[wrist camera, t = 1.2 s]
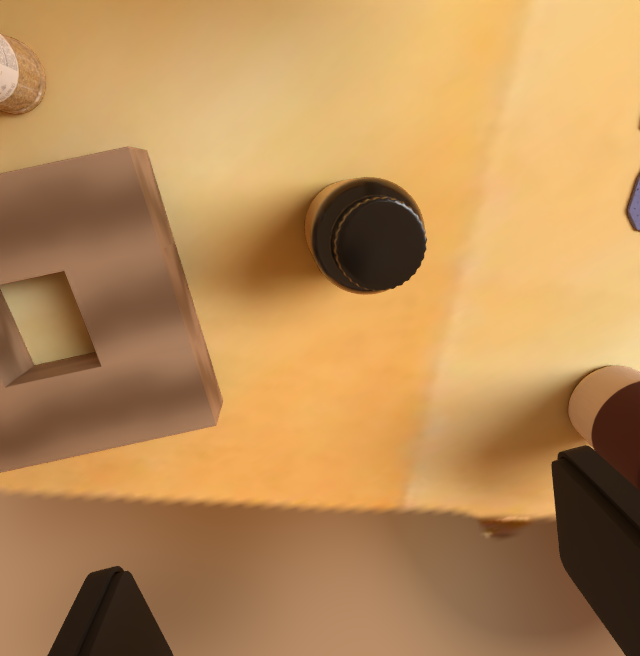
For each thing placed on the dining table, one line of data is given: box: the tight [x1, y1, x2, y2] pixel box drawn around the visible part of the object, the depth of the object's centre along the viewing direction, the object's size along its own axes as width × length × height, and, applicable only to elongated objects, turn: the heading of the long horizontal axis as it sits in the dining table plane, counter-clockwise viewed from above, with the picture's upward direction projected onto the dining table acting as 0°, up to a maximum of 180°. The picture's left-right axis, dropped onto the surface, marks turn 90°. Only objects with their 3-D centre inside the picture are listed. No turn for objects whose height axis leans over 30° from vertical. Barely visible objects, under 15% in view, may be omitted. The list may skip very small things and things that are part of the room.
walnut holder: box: [0, 147, 223, 473], centre depth 33 cm, size 20×20×4 cm
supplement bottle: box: [305, 177, 427, 295], centre depth 29 cm, size 7×7×12 cm
